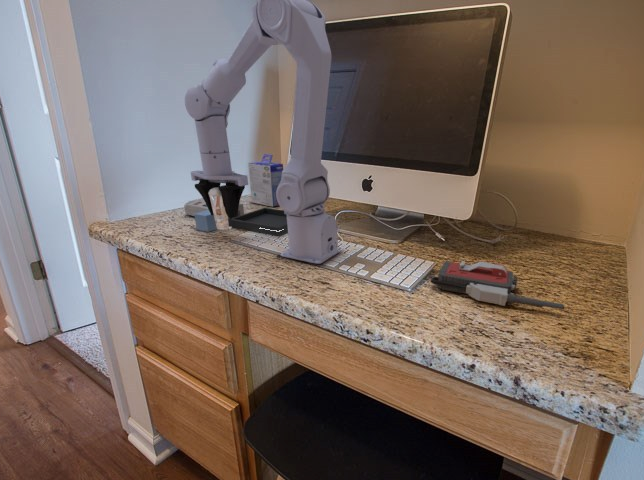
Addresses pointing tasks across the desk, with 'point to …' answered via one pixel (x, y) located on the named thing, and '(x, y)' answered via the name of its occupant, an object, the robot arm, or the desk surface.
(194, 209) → the handheld gaming device
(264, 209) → the tray
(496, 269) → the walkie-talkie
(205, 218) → the blue block
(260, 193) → the ink cartridge box
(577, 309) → the desk surface
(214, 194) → the milkshake
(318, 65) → the robot arm
